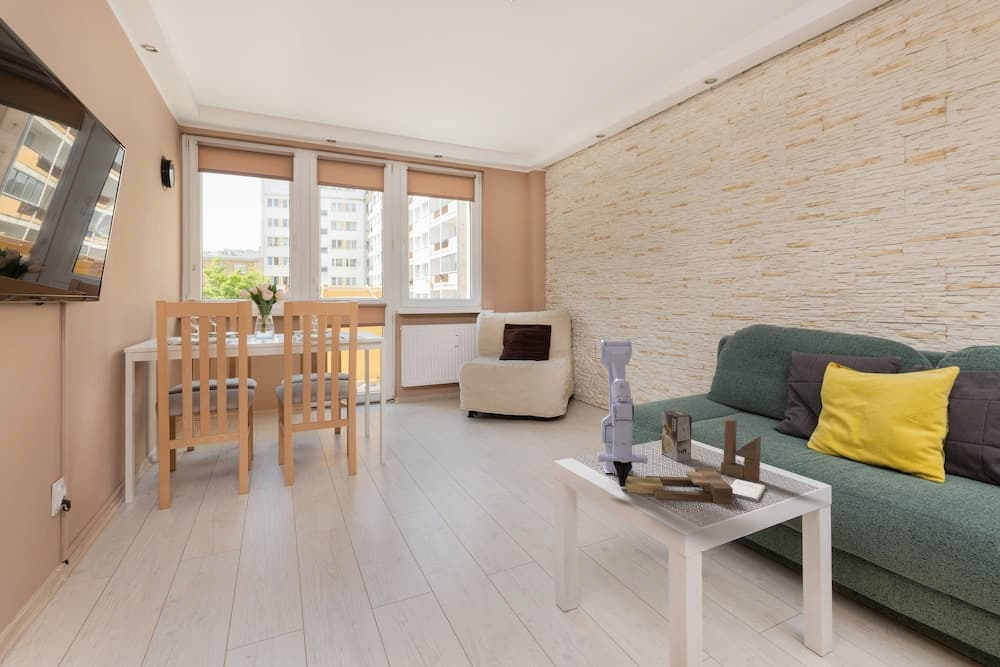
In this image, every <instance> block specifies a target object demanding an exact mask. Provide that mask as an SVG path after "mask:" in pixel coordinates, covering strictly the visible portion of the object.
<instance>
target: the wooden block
mask: <svg viewBox="0 0 1000 667" xmlns="http://www.w3.org/2000/svg"><path fill="white" fill-rule="evenodd" d="M723 422H724V423H723V425H724V427H723V430H724V431H723V456H722V457H723V461H721V463H720V473H721V474H724V475H727V476H731V477H735V478H737V479H740V480H741V479H742V480H743V481H747V482H751V481H752V483H757V482H758V481H760V477H761V476H760V472H761V470H760V468H761V448H762V447H761V443H762V441H761V439H762V436H758V437H755V438H754V439H752V440H751V441H750V442H748V443H747V444H746V445H744V446H743V447H741V448H739V449H737V423H738V422H737V420H736V419H735V418H725V419H724V421H723ZM737 457H741V458H744V459H743V464H741V463H739V462H738V463H737V462H736V458H737ZM756 481H757V482H756Z"/></svg>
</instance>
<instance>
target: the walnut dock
mask: <svg viewBox="0 0 1000 667" xmlns="http://www.w3.org/2000/svg"><path fill="white" fill-rule="evenodd" d="M685 475H686V476H687V477H686V476H662V475H661V476H660V475H659V476H658V475H657V476H656V475H654V476H653V475H645V477H650V478H660V481H661V483H662V485H668V484H670V486H672V485H673V486H699V487H700V488H701V490H702V491H697V490H696V491H693V490H691V491H690V490H671V489H670V490H666V489H665V490H664V489H663V490H654V494H653V497H654V498H655V499H657V500H677V501H678V500H679V501H680V500H681V501H708V502H712V503H714V504H733V496H732V493H733V488H732V487H731V484H728V482H727V481H726V480H725V479H724V478H723V477H722V476H721V475H720V474H719V473H718V472H717V471H716V470H714V468H712V467H695V470H694V471H685Z"/></svg>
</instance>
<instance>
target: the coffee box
mask: <svg viewBox="0 0 1000 667" xmlns="http://www.w3.org/2000/svg"><path fill="white" fill-rule="evenodd" d="M661 418H662V420H661V454H662V455H663V454H664V455H663V456H665V455H666V456H665V457H667V458H669V457H670V459H671V458H672V459H671V460H673V461H676V462H683V461H684V462H685V461H691V460H692V426H693V425H692V424H693V423H692V415H691V414H687V413H683V412H681V411H678V410H667V411H662V412H661Z"/></svg>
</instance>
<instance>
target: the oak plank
mask: <svg viewBox="0 0 1000 667" xmlns="http://www.w3.org/2000/svg"><path fill="white" fill-rule="evenodd" d="M626 487H627V488H626ZM625 488H626V491H628V492H627V493H630V492H637V493H636V494H647V493H653V494H652V495H654V490H664V484H662V483H661V481H660V478H650V477H646V476H632V475H631V476H630V475H628V477H627V479H626V483H625Z"/></svg>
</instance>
